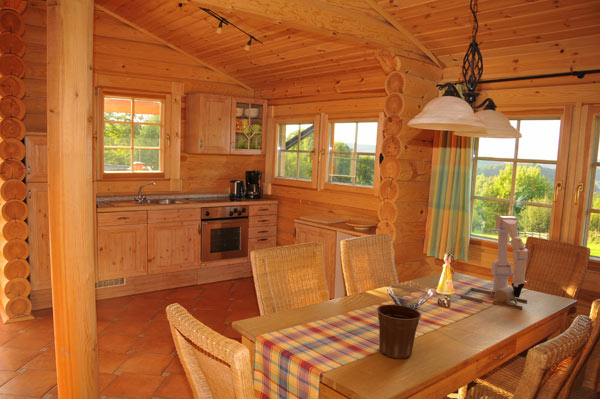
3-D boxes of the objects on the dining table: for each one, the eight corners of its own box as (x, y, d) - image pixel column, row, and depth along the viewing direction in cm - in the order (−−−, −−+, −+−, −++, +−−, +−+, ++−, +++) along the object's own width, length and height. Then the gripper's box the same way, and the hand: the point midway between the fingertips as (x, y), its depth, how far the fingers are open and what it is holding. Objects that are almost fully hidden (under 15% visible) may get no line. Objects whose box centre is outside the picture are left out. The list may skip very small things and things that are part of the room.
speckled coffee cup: (492, 300, 239) (494, 287, 238) (501, 298, 244) (503, 285, 243) (511, 307, 230) (513, 292, 230) (520, 304, 235) (522, 290, 234)
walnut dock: (499, 296, 247) (499, 294, 247) (527, 302, 239) (527, 299, 239) (492, 303, 235) (493, 300, 235) (522, 309, 227) (522, 306, 227)
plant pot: (411, 343, 179) (414, 304, 177) (423, 362, 163) (426, 320, 161) (370, 342, 178) (373, 303, 177) (378, 361, 162) (381, 318, 160)
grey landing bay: (470, 289, 258) (470, 287, 258) (491, 293, 252) (491, 291, 252) (460, 297, 242) (460, 294, 242) (482, 302, 236) (482, 299, 235)
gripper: (525, 276, 225) (522, 302, 227) (530, 270, 237) (527, 295, 239) (510, 273, 229) (507, 299, 231) (515, 268, 241) (513, 292, 243)
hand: (516, 297), depth 235 cm, fingers closed
